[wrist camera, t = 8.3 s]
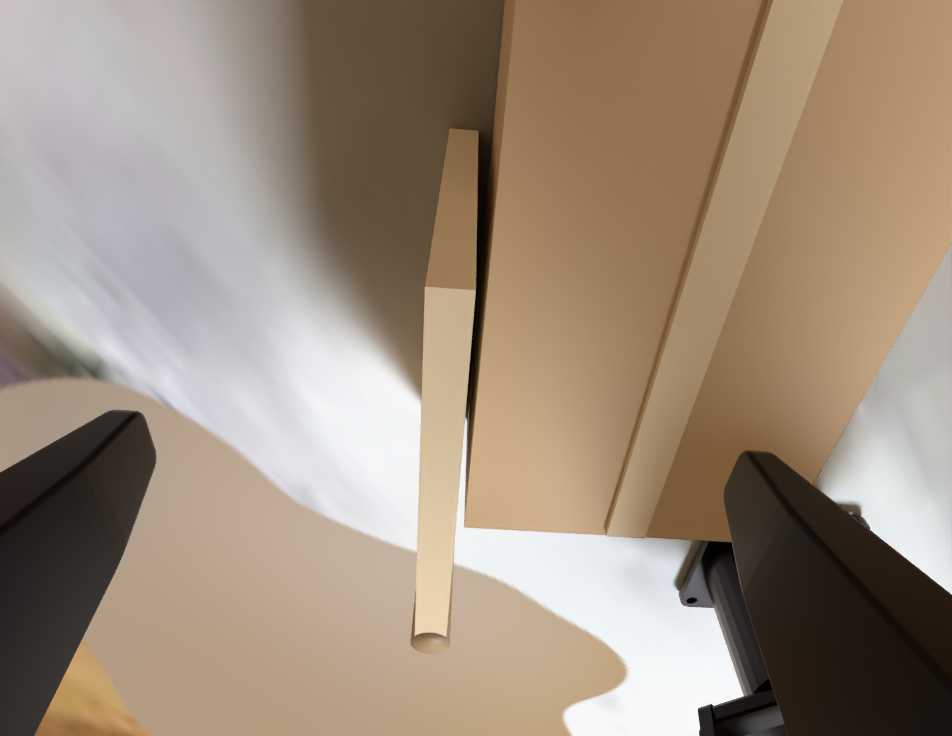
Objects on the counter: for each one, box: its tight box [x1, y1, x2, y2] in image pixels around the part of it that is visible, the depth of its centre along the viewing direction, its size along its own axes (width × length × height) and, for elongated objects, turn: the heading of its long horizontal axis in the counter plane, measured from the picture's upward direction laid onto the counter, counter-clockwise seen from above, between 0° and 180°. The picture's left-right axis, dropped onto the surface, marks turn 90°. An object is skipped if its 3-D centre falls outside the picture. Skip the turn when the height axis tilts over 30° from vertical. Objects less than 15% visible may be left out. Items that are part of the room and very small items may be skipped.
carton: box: [464, 0, 952, 542], centre depth 17 cm, size 15×10×5 cm, turn 176°
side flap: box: [411, 128, 478, 654], centre depth 16 cm, size 11×1×9 cm, turn 176°
